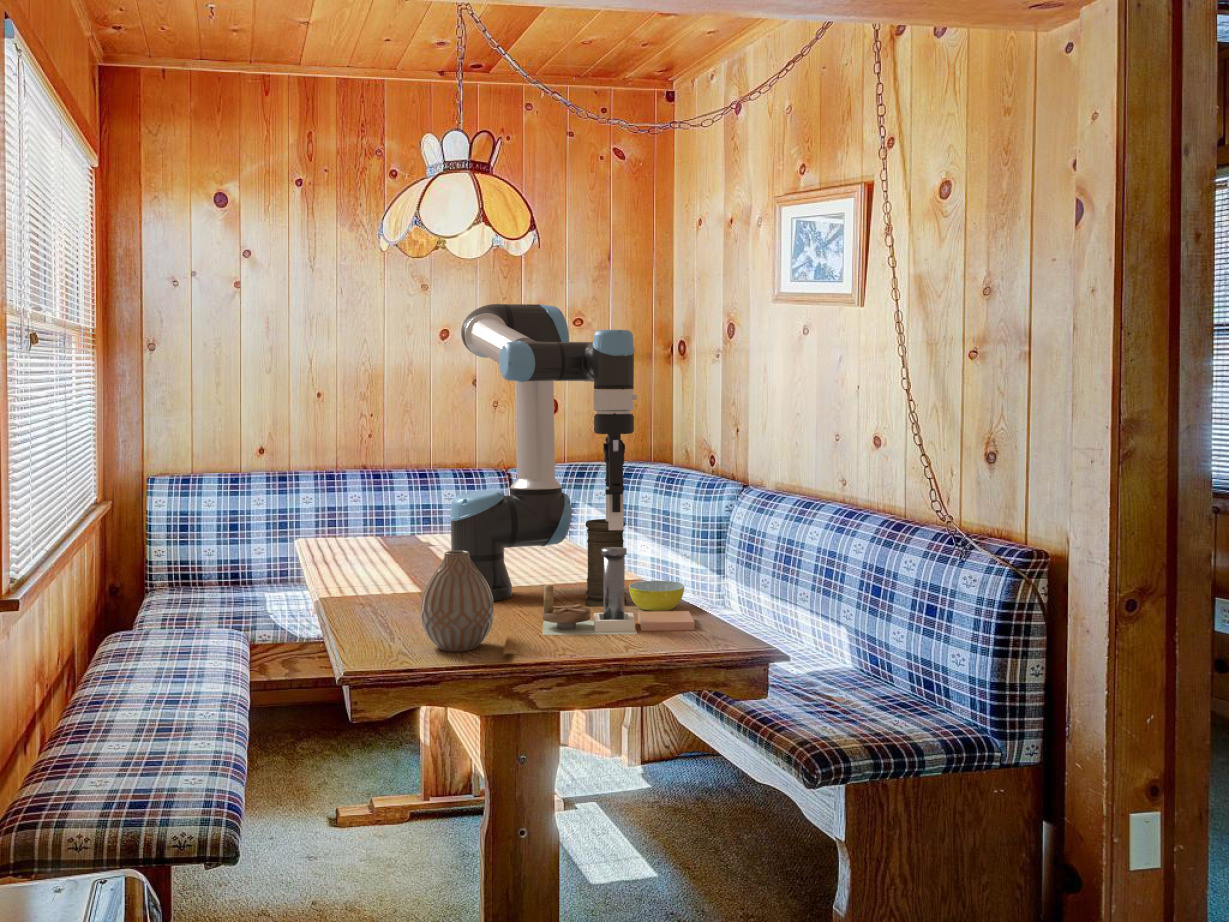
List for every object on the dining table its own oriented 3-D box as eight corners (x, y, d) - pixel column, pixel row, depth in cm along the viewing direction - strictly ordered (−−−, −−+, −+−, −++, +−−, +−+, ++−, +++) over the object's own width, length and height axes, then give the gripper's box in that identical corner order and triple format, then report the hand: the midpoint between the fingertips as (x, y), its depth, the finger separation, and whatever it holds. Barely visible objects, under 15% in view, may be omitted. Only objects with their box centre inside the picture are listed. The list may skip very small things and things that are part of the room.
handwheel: (572, 625, 220) (572, 590, 219) (533, 619, 224) (533, 585, 224) (599, 616, 227) (599, 583, 227) (560, 611, 232) (560, 578, 232)
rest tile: (641, 638, 224) (641, 622, 223) (638, 626, 234) (638, 611, 233) (694, 637, 224) (694, 621, 224) (688, 626, 234) (688, 611, 234)
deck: (542, 642, 220) (542, 624, 220) (543, 628, 232) (543, 611, 232) (637, 641, 221) (637, 623, 220) (633, 627, 233) (633, 610, 232)
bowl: (643, 623, 237) (643, 592, 237) (619, 612, 248) (619, 582, 247) (694, 618, 242) (694, 588, 241) (668, 607, 252) (669, 578, 252)
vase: (407, 652, 212) (406, 555, 211) (443, 637, 225) (442, 545, 223) (473, 659, 208) (472, 559, 206) (506, 642, 220) (505, 548, 219)
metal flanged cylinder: (601, 630, 224) (601, 550, 223) (601, 624, 229) (600, 546, 227) (627, 629, 224) (627, 550, 223) (626, 624, 229) (626, 546, 228)
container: (596, 609, 250) (596, 524, 249) (577, 602, 258) (577, 519, 257) (634, 605, 254) (634, 522, 253) (614, 598, 262) (614, 517, 261)
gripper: (638, 414, 211) (638, 533, 212) (630, 410, 236) (630, 517, 237) (595, 414, 211) (596, 534, 212) (592, 411, 235) (592, 517, 237)
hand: (614, 525), depth 225 cm, fingers open, 13 cm apart
